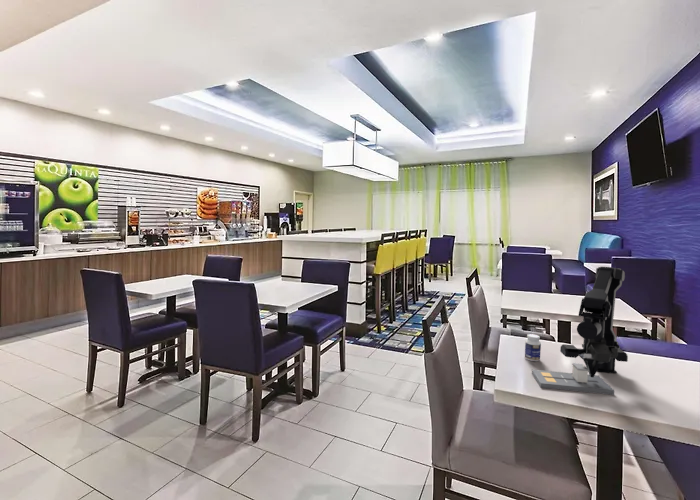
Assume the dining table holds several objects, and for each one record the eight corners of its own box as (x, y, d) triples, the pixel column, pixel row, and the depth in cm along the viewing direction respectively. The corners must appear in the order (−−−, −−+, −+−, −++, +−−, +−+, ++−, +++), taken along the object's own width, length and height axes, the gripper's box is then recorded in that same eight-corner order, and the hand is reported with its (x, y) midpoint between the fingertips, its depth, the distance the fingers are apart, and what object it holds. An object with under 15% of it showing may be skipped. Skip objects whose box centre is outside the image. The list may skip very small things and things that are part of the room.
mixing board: (598, 379, 130) (598, 375, 129) (614, 394, 118) (614, 390, 118) (531, 373, 135) (531, 369, 135) (540, 387, 123) (540, 382, 123)
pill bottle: (534, 362, 145) (535, 338, 145) (521, 358, 150) (522, 334, 150) (543, 360, 148) (544, 336, 147) (530, 355, 153) (531, 332, 152)
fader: (581, 376, 128) (582, 363, 127) (587, 382, 123) (588, 369, 122) (571, 375, 128) (572, 362, 128) (577, 381, 123) (577, 368, 123)
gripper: (572, 337, 118) (570, 384, 119) (638, 342, 114) (635, 390, 115) (560, 328, 129) (558, 370, 130) (620, 332, 124) (618, 375, 125)
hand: (591, 376), depth 125 cm, fingers closed
